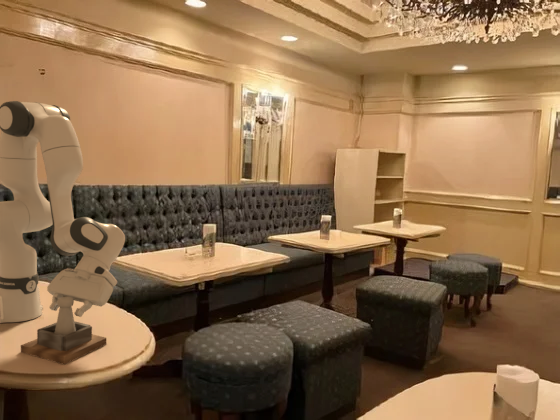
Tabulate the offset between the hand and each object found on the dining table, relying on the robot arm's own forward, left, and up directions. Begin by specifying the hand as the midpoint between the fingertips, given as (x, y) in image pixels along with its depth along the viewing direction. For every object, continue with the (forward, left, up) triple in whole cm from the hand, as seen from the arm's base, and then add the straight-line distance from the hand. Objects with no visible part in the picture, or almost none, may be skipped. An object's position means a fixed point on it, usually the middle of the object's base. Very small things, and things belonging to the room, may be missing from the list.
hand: (64, 312), depth 140 cm
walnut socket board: (0, 0, -11) cm, 11 cm away
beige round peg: (0, 0, -9) cm, 9 cm away
